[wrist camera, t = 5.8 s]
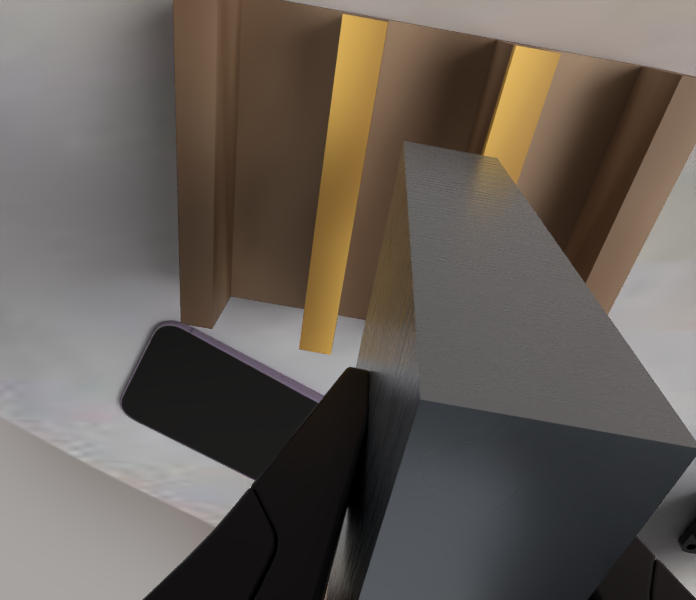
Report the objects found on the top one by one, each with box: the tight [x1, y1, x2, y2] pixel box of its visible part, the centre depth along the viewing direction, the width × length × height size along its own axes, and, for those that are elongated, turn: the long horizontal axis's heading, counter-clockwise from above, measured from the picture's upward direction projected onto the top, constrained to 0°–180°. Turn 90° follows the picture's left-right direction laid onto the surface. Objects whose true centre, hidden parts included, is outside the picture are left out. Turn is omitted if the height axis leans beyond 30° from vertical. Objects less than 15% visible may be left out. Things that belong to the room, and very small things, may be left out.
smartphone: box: [120, 321, 324, 481], centre depth 26 cm, size 7×1×15 cm
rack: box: [173, 0, 696, 355], centre depth 17 cm, size 15×11×4 cm
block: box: [327, 141, 696, 600], centre depth 9 cm, size 2×7×8 cm, turn 171°
